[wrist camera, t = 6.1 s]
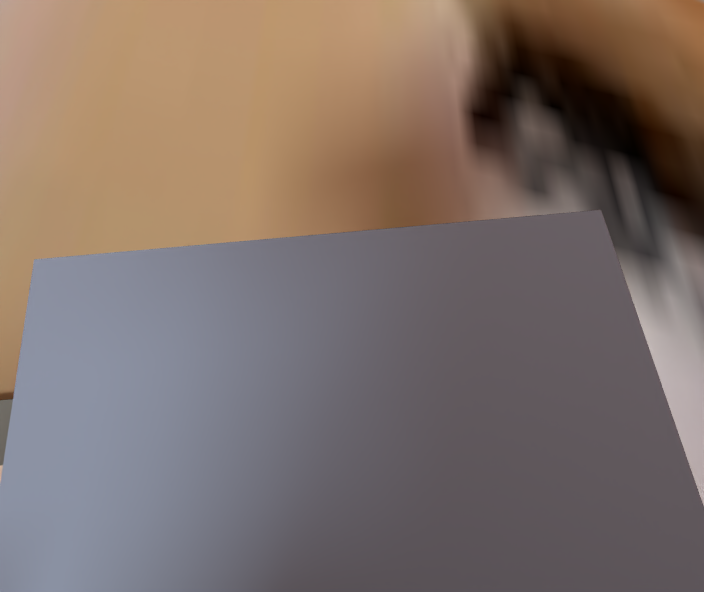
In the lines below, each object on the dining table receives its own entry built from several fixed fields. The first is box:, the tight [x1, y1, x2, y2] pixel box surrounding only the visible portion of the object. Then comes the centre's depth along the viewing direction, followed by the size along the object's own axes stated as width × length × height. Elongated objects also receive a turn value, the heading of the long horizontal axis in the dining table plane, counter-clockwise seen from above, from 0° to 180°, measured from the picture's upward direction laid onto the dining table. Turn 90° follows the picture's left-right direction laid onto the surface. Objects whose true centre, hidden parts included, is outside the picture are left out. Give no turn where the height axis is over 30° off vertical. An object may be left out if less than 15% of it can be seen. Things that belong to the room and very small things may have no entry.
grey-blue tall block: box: [0, 210, 704, 592], centre depth 9 cm, size 4×4×12 cm
